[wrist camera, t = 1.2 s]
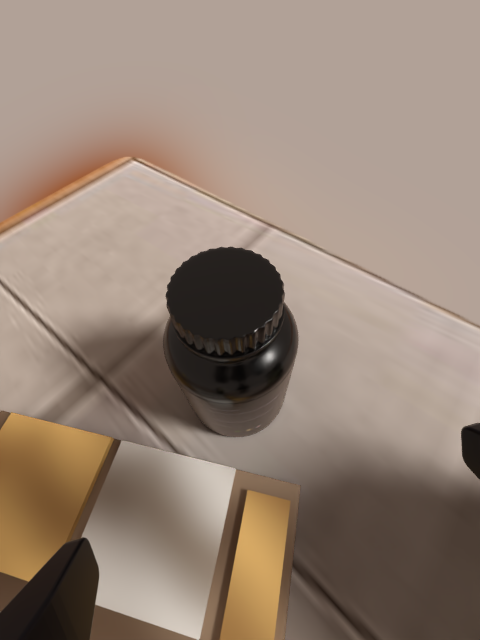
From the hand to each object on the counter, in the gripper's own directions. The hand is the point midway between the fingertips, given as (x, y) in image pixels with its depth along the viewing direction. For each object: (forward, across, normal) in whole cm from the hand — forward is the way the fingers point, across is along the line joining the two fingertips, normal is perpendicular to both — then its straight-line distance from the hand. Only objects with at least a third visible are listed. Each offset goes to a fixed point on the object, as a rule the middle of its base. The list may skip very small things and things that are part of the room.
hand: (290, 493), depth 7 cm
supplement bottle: (+15, 0, +4) cm, 15 cm away
